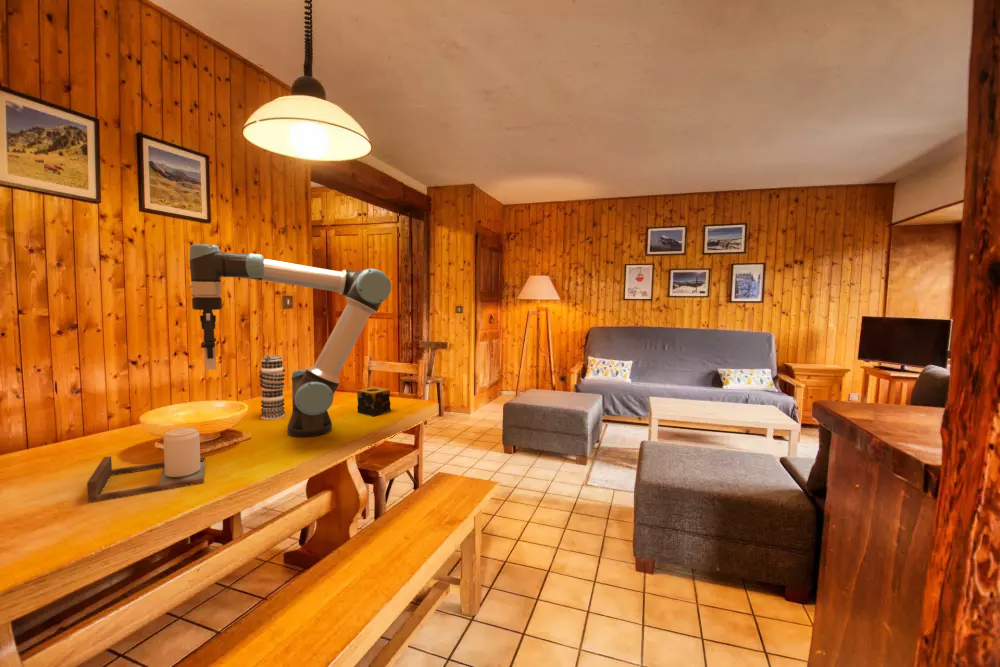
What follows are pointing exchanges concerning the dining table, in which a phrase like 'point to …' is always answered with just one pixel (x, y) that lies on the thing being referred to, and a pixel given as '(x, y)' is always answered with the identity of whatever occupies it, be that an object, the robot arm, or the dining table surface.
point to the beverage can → (182, 452)
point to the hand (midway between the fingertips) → (210, 365)
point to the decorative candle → (272, 387)
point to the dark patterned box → (373, 401)
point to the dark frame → (165, 482)
